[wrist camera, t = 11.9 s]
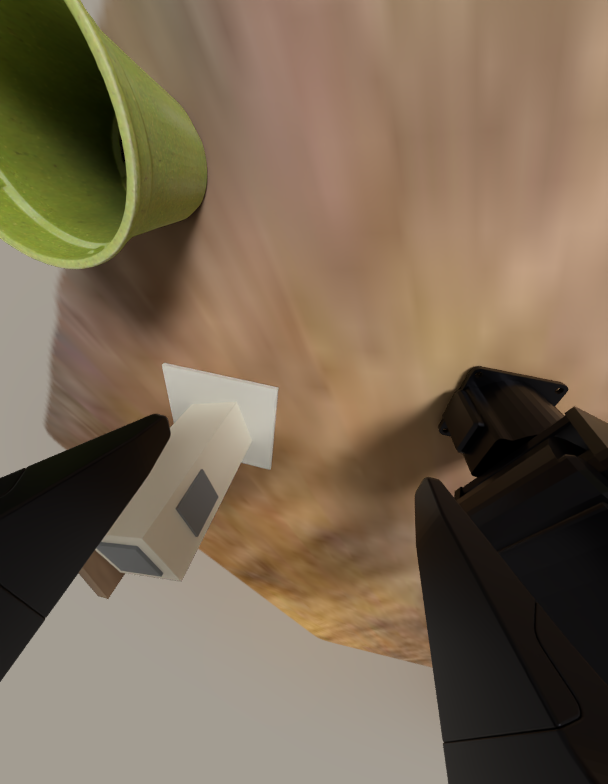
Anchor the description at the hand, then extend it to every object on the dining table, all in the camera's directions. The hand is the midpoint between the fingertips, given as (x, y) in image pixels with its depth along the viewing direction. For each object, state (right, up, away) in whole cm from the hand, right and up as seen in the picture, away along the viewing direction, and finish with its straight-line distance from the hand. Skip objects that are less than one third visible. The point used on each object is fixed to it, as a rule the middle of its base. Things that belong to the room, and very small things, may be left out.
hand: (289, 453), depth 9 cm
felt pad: (-8, -1, +18) cm, 20 cm away
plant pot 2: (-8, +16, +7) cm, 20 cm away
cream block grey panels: (-8, -1, +18) cm, 20 cm away
